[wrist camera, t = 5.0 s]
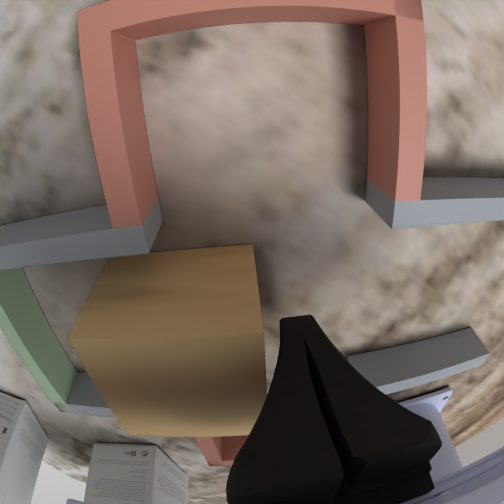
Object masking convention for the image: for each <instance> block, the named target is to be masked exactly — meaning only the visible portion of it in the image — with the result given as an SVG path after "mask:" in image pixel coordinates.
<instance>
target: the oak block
mask: <svg viewBox="0 0 504 504" xmlns="http://www.w3.org/2000/svg"><path fill="white" fill-rule="evenodd" d="M68 340H69V342H70V344H71V346H72V348H73V349H74V351H75V353H76V355H77V356H78V358H79V360H80V362H81V363H82V365H83V367H84V369H85V370H86V372H87V374H88V375H89V377H90V379H91V380H92V382H93V383H94V385H95V387H96V388H97V390H98V391H99V393H100V394H101V396H102V397H103V399H104V401H105V402H106V404H107V405H108V407H109V408H110V409H111V411H112V412H113V414H114V415H115V417H116V418H117V420H118V421H119V422H120V424H121V425H122V426H123V428H124V429H125V431H126V432H127V433H128V434H131V435H145V436H165V437H222V436H243V435H249V434H250V432H251V430H252V428H253V426H254V424H255V422H256V420H257V418H258V416H259V414H260V412H261V410H262V407H263V405H264V402H265V400H266V397H267V388H266V366H265V345H264V329H263V321H262V313H261V305H260V297H259V289H258V281H257V274H256V266H255V258H254V250H253V244H247V245H234V246H222V247H209V248H197V249H185V250H173V251H161V252H150V253H146V254H137V255H128V256H118V257H110V259H109V261H108V262H107V264H106V266H105V268H104V269H103V271H102V273H101V275H100V276H99V278H98V280H97V282H96V284H95V285H94V287H93V289H92V291H91V293H90V295H89V297H88V298H87V300H86V302H85V304H84V306H83V308H82V310H81V312H80V314H79V316H78V318H77V320H76V322H75V324H74V326H73V328H72V330H71V332H70V334H69V336H68Z"/></svg>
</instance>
